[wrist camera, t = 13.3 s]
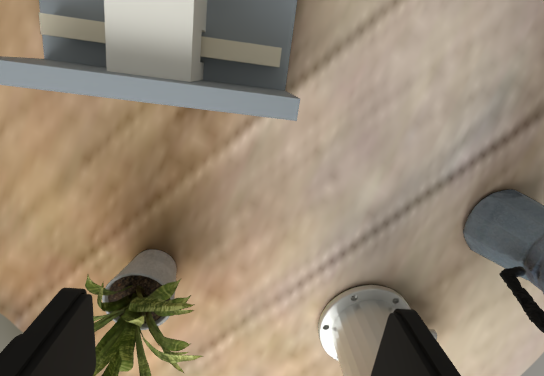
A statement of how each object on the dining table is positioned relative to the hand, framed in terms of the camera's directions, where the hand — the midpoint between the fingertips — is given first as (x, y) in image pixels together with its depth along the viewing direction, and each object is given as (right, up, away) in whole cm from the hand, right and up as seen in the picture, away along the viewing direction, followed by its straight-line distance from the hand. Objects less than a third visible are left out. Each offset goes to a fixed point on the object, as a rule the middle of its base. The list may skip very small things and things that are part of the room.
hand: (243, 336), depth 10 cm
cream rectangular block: (-8, +21, +18) cm, 29 cm away
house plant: (-13, -6, +30) cm, 33 cm away
